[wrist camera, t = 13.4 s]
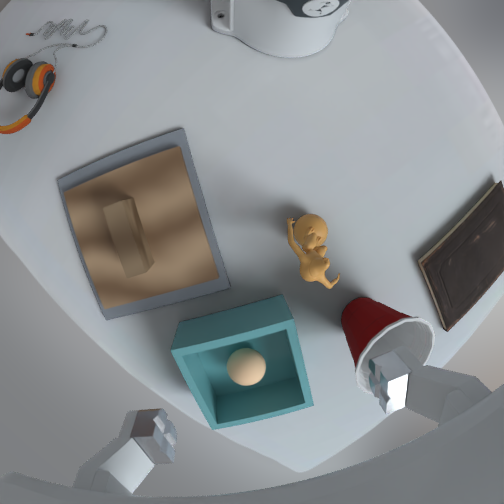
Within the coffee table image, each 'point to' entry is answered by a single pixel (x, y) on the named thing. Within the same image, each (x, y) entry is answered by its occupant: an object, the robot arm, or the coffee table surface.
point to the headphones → (35, 76)
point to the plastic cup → (382, 335)
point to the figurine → (311, 248)
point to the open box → (234, 338)
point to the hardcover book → (467, 258)
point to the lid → (141, 230)
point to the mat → (180, 140)
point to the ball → (246, 366)
